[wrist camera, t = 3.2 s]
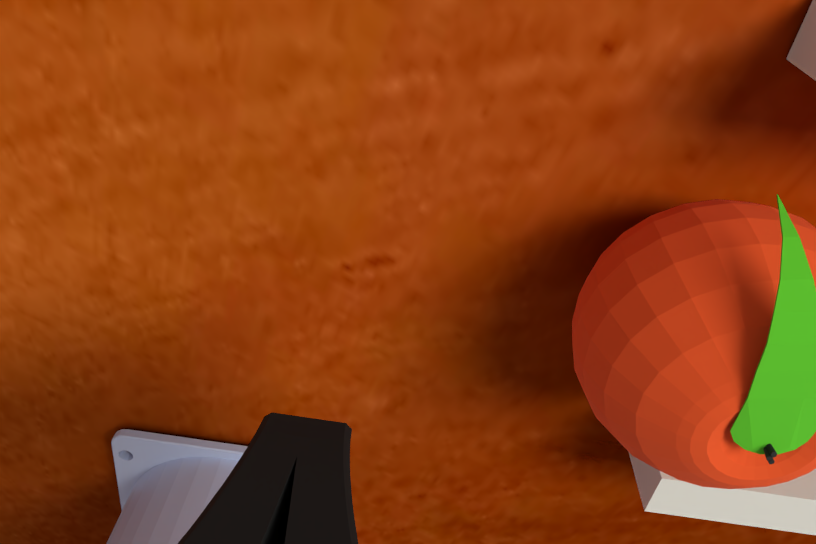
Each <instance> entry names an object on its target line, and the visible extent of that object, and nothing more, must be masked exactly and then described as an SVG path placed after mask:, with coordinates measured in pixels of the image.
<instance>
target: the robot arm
mask: <svg viewBox="0 0 816 544" xmlns="http://www.w3.org/2000/svg"><path fill="white" fill-rule="evenodd" d="M351 431H352V429H351V428H350V427H349V426H348V425H347V424H346V423H340V422H333V421H326V420H319V419H312V418H305V417H299V416H292V415H285V414H278V413H270V414H268V415H267V416H265V417H264V419H263V420H262V422H261V424H260V426H259V428H258V430H257V432H256V433H255V435H254V437H253V439H252V440H251V442H250V444H249V445H248V446H243V445H236V444H229V443H222V442H215V441H208V440H201V439H194V438H187V437H180V436H173V435H165V434H158V433H151V432H144V431H137V430H130V429H121V430H118V431H117V432H116V433H115V435H114V436H113V438H112V441H111V445H112V452H113V458H114V465H115V471H116V478H117V484H118V490H119V497H120V503H121V510H122V512H121V514H120V516H119V518H118V520H117V522H116V525H115V527H114V529H113V531H112V533H111V535H110V537H109V539H108V541H107V543H106V544H358V540H357V533H356V527H355V520H354V513H353V505H352V494H351V482H350V439H351Z"/></svg>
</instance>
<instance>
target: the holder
mask: <svg viewBox="0 0 816 544" xmlns="http://www.w3.org/2000/svg"><path fill="white" fill-rule="evenodd" d="M786 59H787V60H788V61H789V62H791V63H792V64H793V65H795V66H796V67H797V68H799V69H800V70H802V71H803V72H804V73H806V74H807V75H808V76H810V77H811V78H812V79H814V80H815V81H816V0H813V1H812V3H811V5H810V7H809V9H808V12H807V14H806V16H805V18H804V20H803V23H802V25H801V27H800V29H799V31H798V34H797V36H796V38H795V40H794V43H793V45H792V47H791V49H790V51H789V54H788V56H787V58H786ZM629 456H630V460H631V463H632V467H633V471H634V474H635V478H636V482H637V486H638V489H639V493H640V497H641V500H642V504H643V508H644V511H648V512H655V513H662V514H669V515H676V516H683V517H690V518H698V519H705V520H712V521H719V522H726V523H733V524H740V525H747V526H754V527H761V528H768V529H775V530H782V531H789V532H797V533H804V534H811V535H816V469H814V470H813V471H811V472H809V473H808V474H805V475H803V476H800V477H798V478H795V479H793V480H791V481H788V482H784V483H780V484H776V485H771V486H767V487H756V488H742V489H722V488H711V487H702V486H698V485H695V484H692V483H688V482H685V481H681V480H678V479H676V478H674V477H672V476H670V475H668V474H665V473H663V472H661V471H659V470H657V469H655V468H653V467H652V466H650V465H648V464H646V463H645V462H643V461H641V460H639V459H637V458H636V457H634V456H632V455H631V454H630V453H629Z"/></svg>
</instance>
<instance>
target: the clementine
mask: <svg viewBox="0 0 816 544" xmlns="http://www.w3.org/2000/svg"><path fill="white" fill-rule="evenodd" d="M777 202H778V209H776V208H773V207H770V206H766V205H761V204H756V203H751V202H742V201H731V200H719V199H715V200H708V201H700V202H693V203H686V204H681V205H679V206H676V207H673V208H670V209H667V210H665V211H662V212H659V213H656V214H654V215H651V216H649V217H648V218H646V219H644V220H643V221H641V222H639V223H638V224H636V225H635V226H633V227H631V228H630V229H628V230H627V231H625V232H623V233H622V234H621V235H620V236H619V237H618V238H617V239H616V240H615V241H614V242H613V243H612V244H611V245H610V246H609V247H608V248H607V249H606V250H605V251H604V252H603V253H602V254H601V255H600V257H599V259H598V260H597V262H596V263H595V265H594V267H593V268H592V270H591V272H590V273H589V275H588V277H587V279H586V281H585V283H584V285H583V287H582V289H581V291H580V293H579V296H578V299H577V303H576V307H575V311H574V315H573V319H572V346H573V358H574V370H575V372H576V375H577V377H578V380H579V382H580V384H581V387H582V389H583V391H584V394H585V396H586V398H587V400H588V402H589V404H590V406H591V409H592V411H593V413H594V415H595V417H596V418H597V419H598V420H599V421H600V423H601V424H602V425H603V426H604V427H605V428H606V429H607V430H608V431H609V432H610V433H611V434H612V435H613V436H614V437H615V438H616V439H617V440H618V441H619V442H620V443H621V444H622V446H623V447H624V448H625V449H626V450H627V451H628V452H629V453H630V454H631V455H632V456H634V457H636V458H637V459H639V460H641V461H643V462H645V463H646V464H648V465H650V466H652V467H653V468H655V469H657V470H659V471H661V472H663V473H665V474H668V475H670V476H672V477H674V478H676V479H678V480H681V481H685V482H688V483H692V484H695V485H698V486H702V487H711V488H722V489H742V488H756V487H767V486H771V485H776V484H780V483H784V482H788V481H791V480H793V479H795V478H798V477H800V476H803V475H805V474H808V473H809V472H811V471H813V470H814V469H816V228H815V227H814V226H813V225H811V224H810V223H809V222H807V221H806V220H805V219H803V218H801V217H798V216H795V215H793V214H790V213H787V211H786V209H785V207H784V205H783V204H782V202H781V200H780V198H779V196H778V194H777Z"/></svg>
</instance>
